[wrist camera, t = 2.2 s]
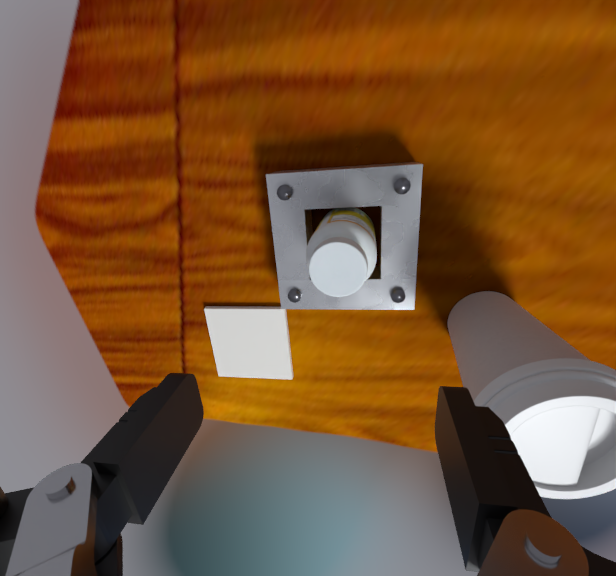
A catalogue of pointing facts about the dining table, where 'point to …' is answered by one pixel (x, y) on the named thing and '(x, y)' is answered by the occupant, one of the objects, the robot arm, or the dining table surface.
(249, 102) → the dining table surface
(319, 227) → the supplement bottle
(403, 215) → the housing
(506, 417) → the coffee cup
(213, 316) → the mat
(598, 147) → the dining table surface
